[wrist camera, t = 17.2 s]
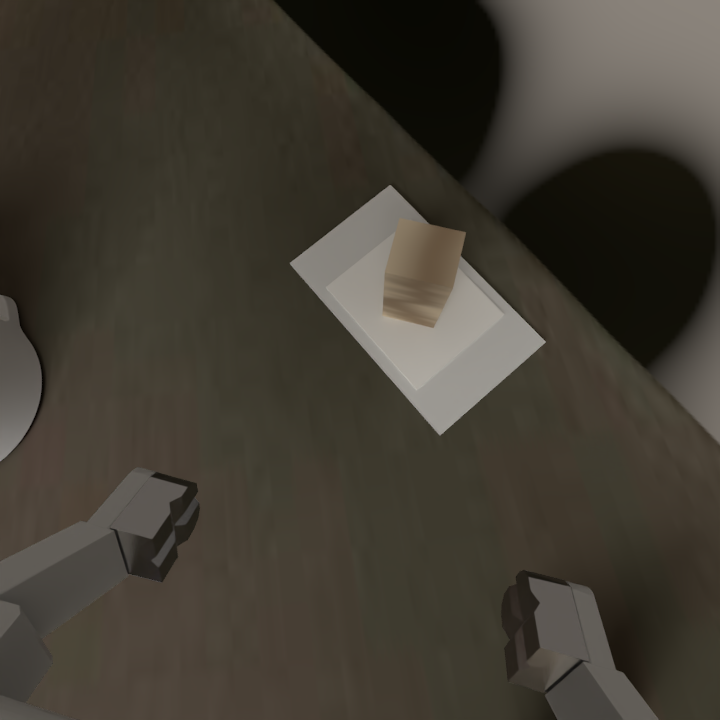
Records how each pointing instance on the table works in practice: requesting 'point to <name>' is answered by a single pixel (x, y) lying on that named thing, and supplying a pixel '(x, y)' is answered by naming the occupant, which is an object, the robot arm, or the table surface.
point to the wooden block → (420, 271)
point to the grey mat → (408, 340)
